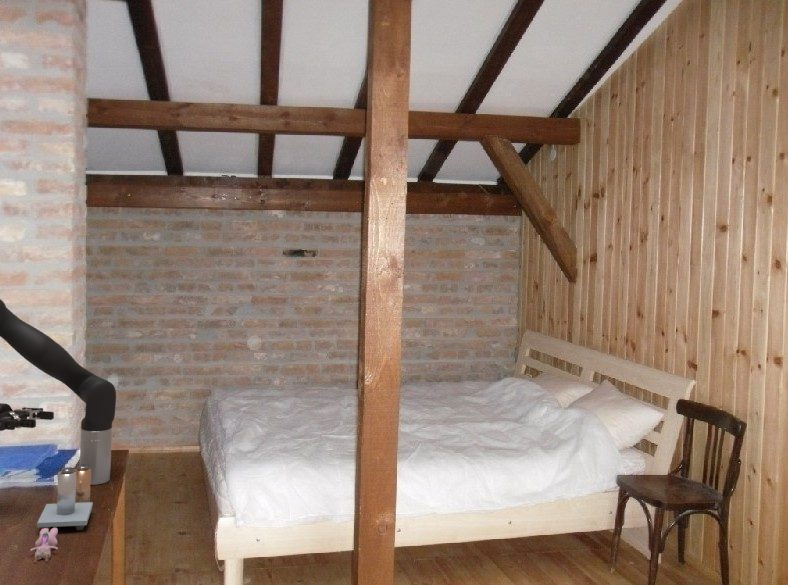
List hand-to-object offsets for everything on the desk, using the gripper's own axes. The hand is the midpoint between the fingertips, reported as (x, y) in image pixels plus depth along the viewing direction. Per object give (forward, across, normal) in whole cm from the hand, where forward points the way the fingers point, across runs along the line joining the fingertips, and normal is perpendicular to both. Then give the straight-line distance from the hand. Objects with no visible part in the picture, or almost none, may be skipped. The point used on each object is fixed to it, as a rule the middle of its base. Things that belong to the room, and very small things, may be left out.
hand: (44, 419), depth 199 cm
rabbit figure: (+12, -20, +28) cm, 36 cm away
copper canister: (+6, +9, +28) cm, 30 cm away
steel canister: (+8, -4, +24) cm, 26 cm away
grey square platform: (+8, -4, +28) cm, 29 cm away
